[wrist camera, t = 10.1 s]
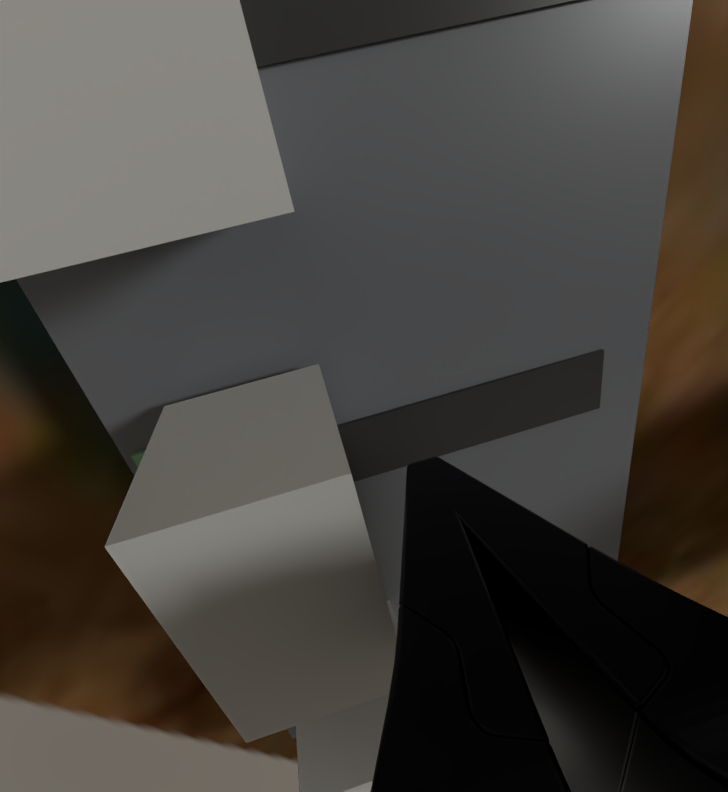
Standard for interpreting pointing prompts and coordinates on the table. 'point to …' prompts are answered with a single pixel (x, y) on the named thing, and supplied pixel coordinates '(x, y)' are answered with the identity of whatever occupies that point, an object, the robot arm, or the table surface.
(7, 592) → the table surface
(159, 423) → the handle
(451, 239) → the breaker panel
